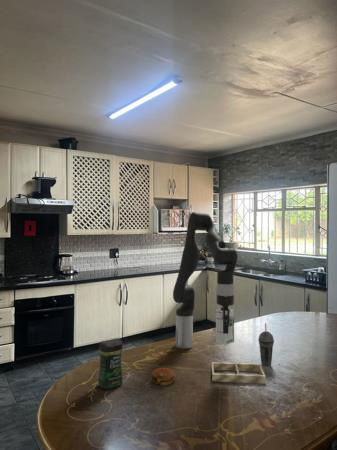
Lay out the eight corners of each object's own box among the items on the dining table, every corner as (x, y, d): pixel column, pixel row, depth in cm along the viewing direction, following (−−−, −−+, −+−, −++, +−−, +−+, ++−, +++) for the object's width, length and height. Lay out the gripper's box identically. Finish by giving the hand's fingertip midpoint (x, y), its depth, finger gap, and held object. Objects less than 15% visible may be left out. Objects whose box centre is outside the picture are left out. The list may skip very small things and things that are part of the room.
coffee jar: (104, 392, 137) (104, 345, 137) (95, 384, 143) (95, 339, 143) (125, 385, 143) (125, 340, 143) (116, 378, 149) (116, 335, 149)
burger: (172, 375, 153) (172, 364, 153) (177, 384, 144) (176, 373, 144) (150, 377, 151) (150, 366, 151) (153, 387, 142) (153, 375, 142)
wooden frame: (212, 381, 146) (212, 374, 146) (211, 368, 159) (211, 362, 159) (265, 383, 144) (265, 376, 144) (260, 370, 157) (260, 364, 157)
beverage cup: (275, 363, 166) (275, 321, 166) (273, 368, 159) (272, 325, 160) (259, 360, 169) (259, 319, 169) (257, 366, 163) (256, 323, 163)
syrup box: (226, 345, 149) (226, 311, 149) (215, 341, 153) (215, 309, 153) (234, 342, 152) (234, 309, 152) (223, 339, 157) (224, 307, 157)
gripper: (215, 290, 160) (215, 325, 160) (217, 296, 146) (217, 335, 146) (232, 290, 159) (232, 326, 159) (235, 297, 145) (235, 335, 145)
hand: (225, 330), depth 153 cm, fingers closed on syrup box, 8 cm apart
